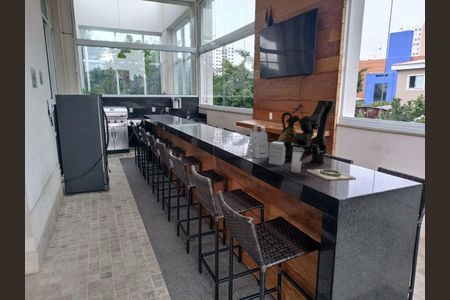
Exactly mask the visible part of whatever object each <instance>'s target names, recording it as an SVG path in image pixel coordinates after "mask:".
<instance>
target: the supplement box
mask: <svg viewBox="0 0 450 300" xmlns="http://www.w3.org/2000/svg"><path fill="white" fill-rule="evenodd" d="M269 146H270V147H269V158H268V164H270V165H275V166H282V165H284V164H285V161H286V160H285V150H286V148H285V146H284V142H277V141H276V140H275V141H272V142H270V145H269Z"/></svg>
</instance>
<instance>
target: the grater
mask: <svg viewBox="0 0 450 300" xmlns="http://www.w3.org/2000/svg"><path fill="white" fill-rule="evenodd" d="M258 127H260V128H261V130H260V131H258ZM249 135H250V136H249V141H248V145H247V149H246V154H245V156H248V157H252V158H255V157H256V158H257V159H261V158H260V157H262V158H268V157H267V156H269V145H268V133H267V132H266V126H265V125H259V124H257V125H254V126H253V127H252V131H250V134H249Z"/></svg>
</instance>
